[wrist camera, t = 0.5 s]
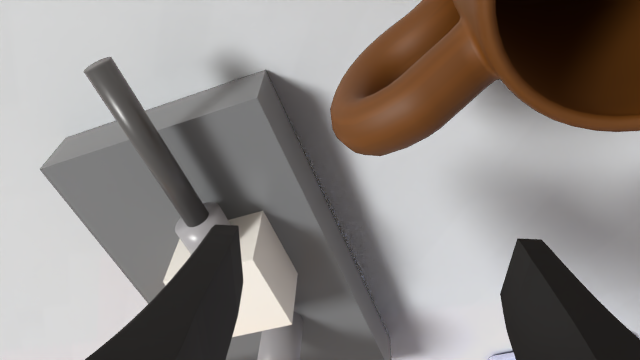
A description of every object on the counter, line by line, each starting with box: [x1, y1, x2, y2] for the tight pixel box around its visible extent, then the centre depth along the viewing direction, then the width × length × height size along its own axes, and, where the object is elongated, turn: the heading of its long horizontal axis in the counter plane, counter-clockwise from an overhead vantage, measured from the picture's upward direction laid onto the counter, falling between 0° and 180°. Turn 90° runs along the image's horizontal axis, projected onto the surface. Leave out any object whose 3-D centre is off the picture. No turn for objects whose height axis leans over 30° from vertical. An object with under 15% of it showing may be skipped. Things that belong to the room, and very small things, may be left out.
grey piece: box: [40, 70, 391, 360], centre depth 25 cm, size 18×10×6 cm, turn 21°
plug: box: [84, 57, 298, 337], centre depth 21 cm, size 12×4×3 cm, turn 21°
